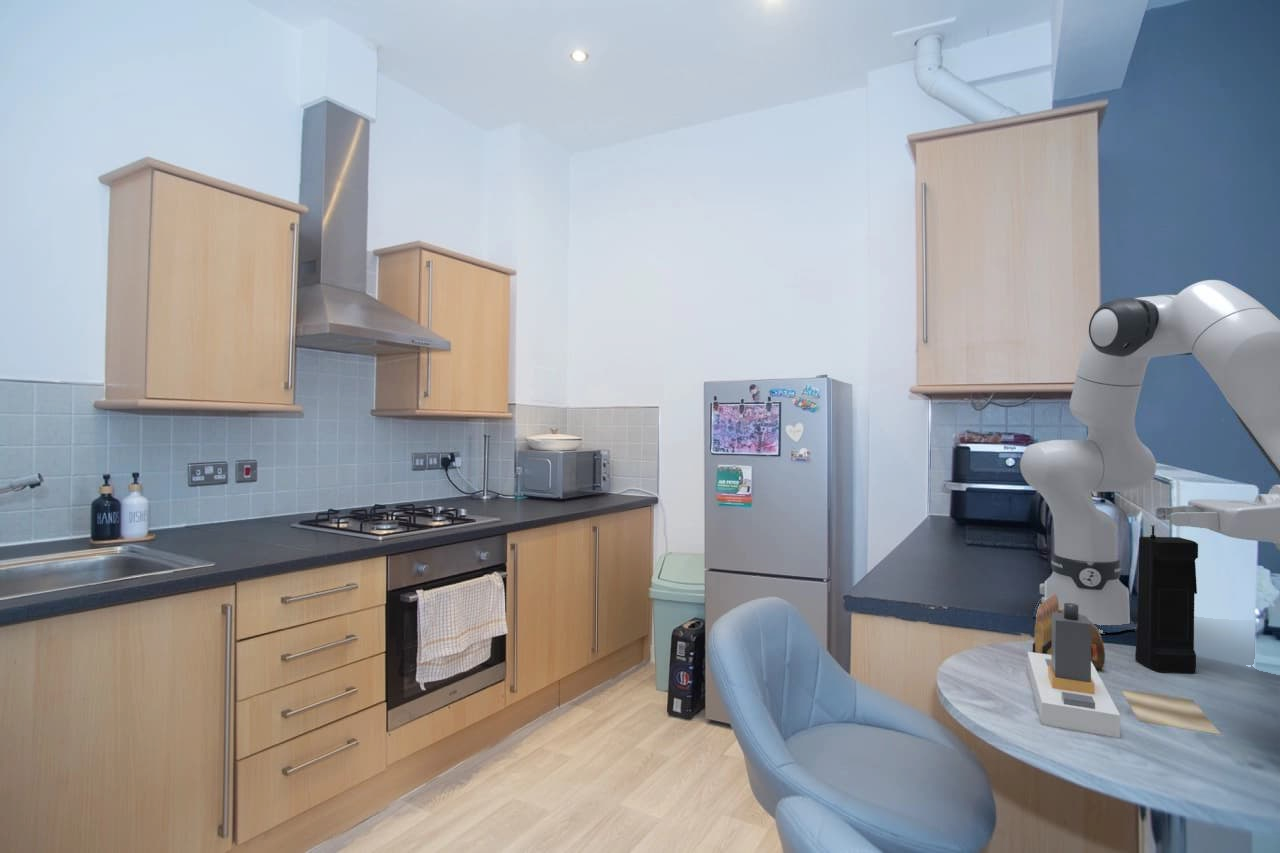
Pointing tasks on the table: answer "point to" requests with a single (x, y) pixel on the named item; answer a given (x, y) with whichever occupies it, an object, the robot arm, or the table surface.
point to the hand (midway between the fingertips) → (1163, 515)
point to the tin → (1096, 647)
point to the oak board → (1168, 711)
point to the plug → (1071, 651)
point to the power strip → (1069, 712)
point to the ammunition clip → (1045, 626)
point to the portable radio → (1166, 603)
